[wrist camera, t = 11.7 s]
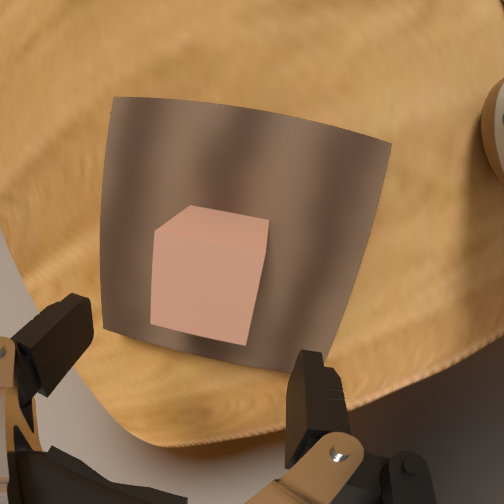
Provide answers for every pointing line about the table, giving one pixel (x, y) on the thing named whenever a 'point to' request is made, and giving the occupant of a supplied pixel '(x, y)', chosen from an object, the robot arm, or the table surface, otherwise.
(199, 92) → the table surface
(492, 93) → the vase
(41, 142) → the table surface
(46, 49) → the table surface
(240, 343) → the pink block
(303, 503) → the robot arm
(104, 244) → the walnut base
